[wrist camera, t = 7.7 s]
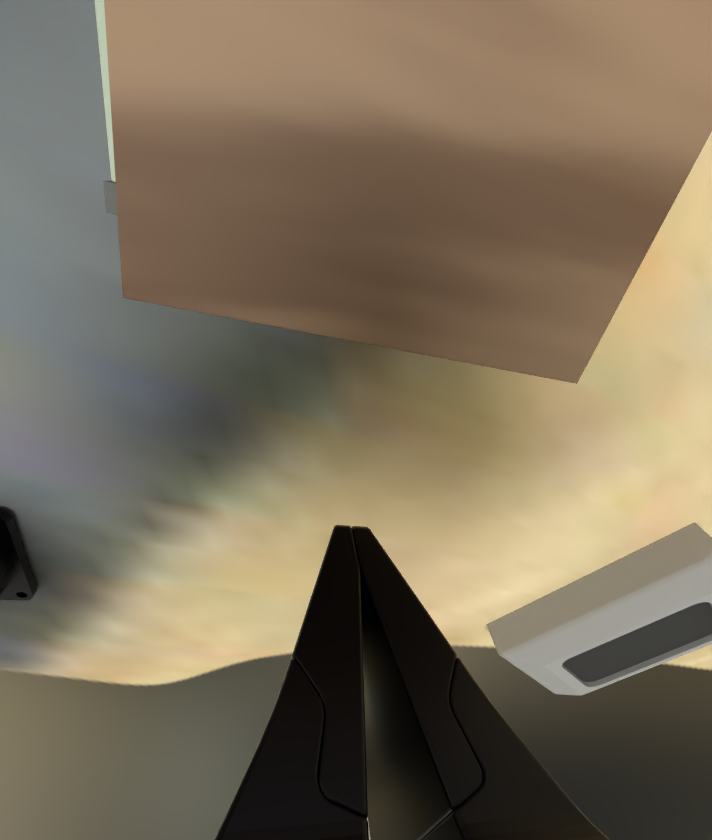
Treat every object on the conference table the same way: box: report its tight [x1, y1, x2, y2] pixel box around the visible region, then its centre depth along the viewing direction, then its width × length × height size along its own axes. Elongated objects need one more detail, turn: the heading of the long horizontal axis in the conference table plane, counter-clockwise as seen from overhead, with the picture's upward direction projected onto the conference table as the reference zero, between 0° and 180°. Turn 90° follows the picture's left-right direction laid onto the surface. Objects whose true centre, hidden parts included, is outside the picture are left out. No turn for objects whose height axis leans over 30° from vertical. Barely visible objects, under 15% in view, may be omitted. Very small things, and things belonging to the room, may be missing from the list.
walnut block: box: [104, 0, 712, 384], centre depth 9 cm, size 4×12×10 cm
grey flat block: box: [487, 523, 712, 695], centre depth 26 cm, size 10×4×15 cm
